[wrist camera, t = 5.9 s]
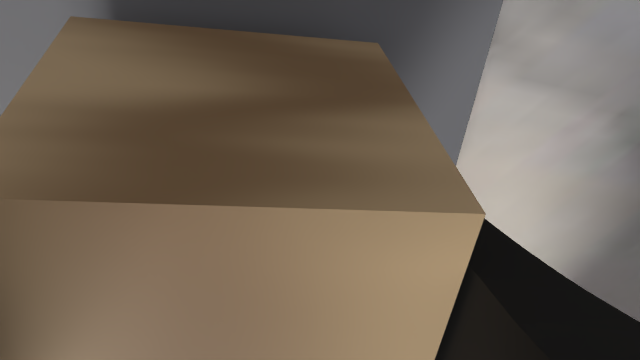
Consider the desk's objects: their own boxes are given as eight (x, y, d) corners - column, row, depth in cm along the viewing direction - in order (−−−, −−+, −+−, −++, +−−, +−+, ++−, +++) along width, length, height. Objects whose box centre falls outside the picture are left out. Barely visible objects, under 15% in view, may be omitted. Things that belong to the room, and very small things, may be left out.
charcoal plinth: (482, -127, 12) (536, -113, 10) (390, 251, 17) (413, 312, 15) (-51, -201, 10) (-121, -201, 8) (27, 246, 15) (-4, 315, 13)
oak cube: (378, 43, 10) (486, 214, 6) (335, 264, 13) (388, 489, 9) (70, 15, 9) (-56, 197, 5) (92, 260, 12) (21, 512, 8)
